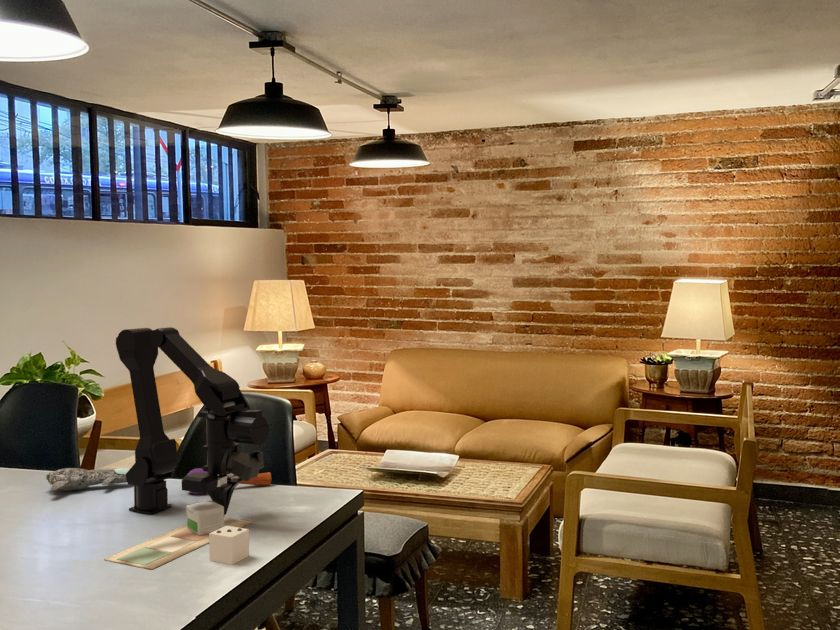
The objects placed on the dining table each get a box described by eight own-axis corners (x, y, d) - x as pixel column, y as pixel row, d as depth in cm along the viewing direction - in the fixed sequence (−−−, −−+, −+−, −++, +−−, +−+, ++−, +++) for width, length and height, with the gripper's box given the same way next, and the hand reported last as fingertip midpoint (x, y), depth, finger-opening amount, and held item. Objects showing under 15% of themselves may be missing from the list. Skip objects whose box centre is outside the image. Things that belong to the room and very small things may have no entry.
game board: (104, 560, 147) (104, 558, 147) (208, 515, 174) (208, 514, 174) (151, 569, 143) (151, 568, 143) (251, 522, 169) (251, 521, 169)
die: (209, 560, 148) (209, 531, 147) (226, 552, 152) (226, 523, 152) (232, 565, 145) (231, 535, 145) (249, 556, 150) (248, 527, 150)
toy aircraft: (137, 494, 190) (137, 471, 190) (43, 502, 183) (42, 478, 183) (137, 477, 205) (137, 456, 205) (50, 483, 199) (49, 462, 199)
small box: (185, 529, 164) (185, 504, 164) (212, 523, 168) (212, 499, 167) (198, 536, 160) (197, 511, 159) (225, 530, 163) (225, 506, 163)
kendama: (274, 472, 195) (188, 475, 187) (271, 495, 197) (185, 499, 188) (267, 462, 201) (184, 464, 192) (265, 485, 202) (181, 488, 193)
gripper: (225, 453, 156) (227, 533, 157) (280, 434, 173) (281, 507, 174) (178, 448, 161) (180, 526, 161) (236, 430, 178) (237, 501, 179)
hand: (223, 515), depth 169 cm, fingers closed
